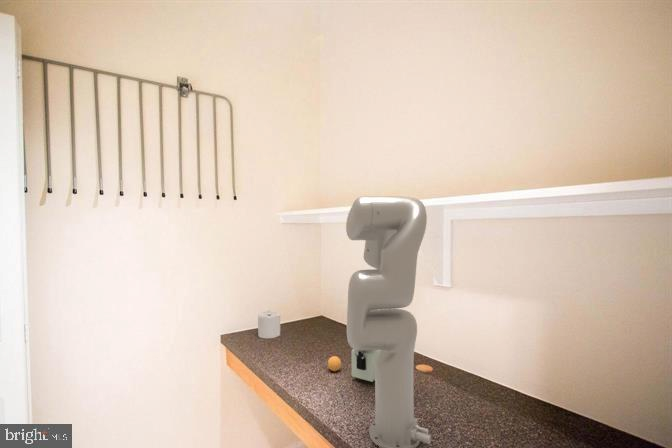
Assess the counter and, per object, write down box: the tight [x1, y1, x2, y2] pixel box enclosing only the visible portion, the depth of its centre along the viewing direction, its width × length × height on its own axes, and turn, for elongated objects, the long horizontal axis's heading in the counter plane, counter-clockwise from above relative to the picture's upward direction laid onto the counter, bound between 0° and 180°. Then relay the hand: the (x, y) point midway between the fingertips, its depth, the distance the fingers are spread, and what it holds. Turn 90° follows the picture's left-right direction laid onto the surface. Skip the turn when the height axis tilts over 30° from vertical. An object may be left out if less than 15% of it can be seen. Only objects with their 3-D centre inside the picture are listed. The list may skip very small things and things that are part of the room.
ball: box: [327, 355, 342, 372], centre depth 119 cm, size 5×5×5 cm
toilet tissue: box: [257, 310, 281, 339], centre depth 160 cm, size 11×12×10 cm
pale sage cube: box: [351, 348, 382, 383], centre depth 113 cm, size 8×8×9 cm
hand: (366, 364), depth 113 cm, fingers closed on pale sage cube, 7 cm apart
